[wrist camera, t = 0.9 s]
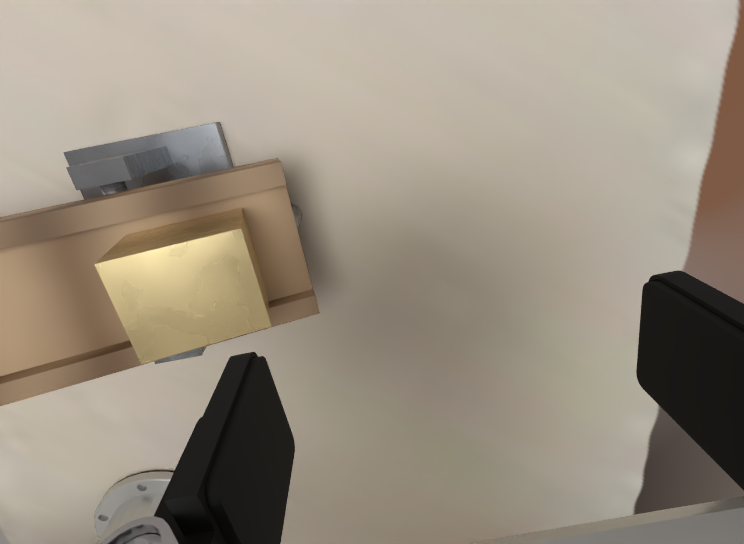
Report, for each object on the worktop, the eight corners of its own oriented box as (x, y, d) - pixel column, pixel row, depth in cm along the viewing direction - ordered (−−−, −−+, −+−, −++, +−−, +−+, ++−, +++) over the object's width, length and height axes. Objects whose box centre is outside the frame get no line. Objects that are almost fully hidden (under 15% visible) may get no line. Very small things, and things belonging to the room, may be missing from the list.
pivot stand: (276, 111, 28) (255, 113, 21) (322, 298, 33) (317, 344, 27) (-27, 170, 28) (-135, 189, 22) (68, 346, 33) (3, 403, 27)
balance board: (277, 158, 24) (283, 164, 20) (313, 297, 27) (323, 323, 24) (-183, 256, 20) (-279, 287, 16) (-72, 406, 23) (-132, 459, 20)
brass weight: (242, 207, 23) (240, 228, 18) (266, 289, 25) (271, 326, 20) (125, 234, 22) (94, 263, 17) (161, 317, 24) (141, 364, 19)
